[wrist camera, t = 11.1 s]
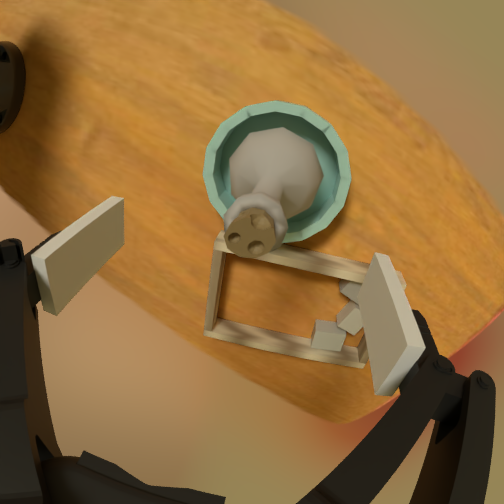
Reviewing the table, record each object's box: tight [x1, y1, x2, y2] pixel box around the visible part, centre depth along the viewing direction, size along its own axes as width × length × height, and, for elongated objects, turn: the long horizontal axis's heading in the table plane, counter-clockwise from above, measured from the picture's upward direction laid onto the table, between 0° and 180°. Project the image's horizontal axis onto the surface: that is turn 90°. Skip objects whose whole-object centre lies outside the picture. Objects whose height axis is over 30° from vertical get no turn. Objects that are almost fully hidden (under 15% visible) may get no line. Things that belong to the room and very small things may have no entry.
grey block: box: [311, 319, 346, 351], centre depth 41 cm, size 4×3×2 cm
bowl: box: [203, 100, 351, 243], centre depth 31 cm, size 14×14×4 cm
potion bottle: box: [223, 127, 324, 258], centre depth 24 cm, size 9×9×18 cm
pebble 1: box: [339, 279, 363, 305], centre depth 37 cm, size 4×2×2 cm
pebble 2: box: [337, 300, 363, 335], centre depth 39 cm, size 4×3×2 cm
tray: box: [203, 230, 407, 369], centre depth 39 cm, size 22×14×3 cm, turn 80°
